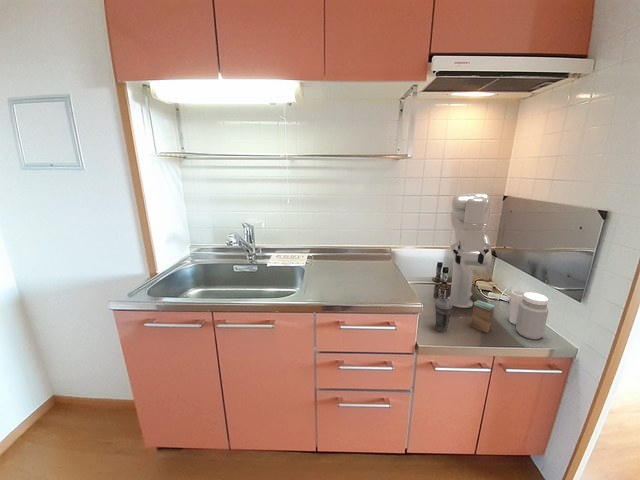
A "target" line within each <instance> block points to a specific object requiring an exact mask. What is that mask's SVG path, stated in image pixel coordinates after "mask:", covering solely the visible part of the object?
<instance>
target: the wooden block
mask: <svg viewBox="0 0 640 480" xmlns="http://www.w3.org/2000/svg"><path fill="white" fill-rule="evenodd" d="M494 314H495V305H494V304H492V303H488V302H485V301H482V300H479V299H477V300H476V301H473V307H472V314H471V323H470V327H472V328H475V329H477V330H478V331H481V332H484V333H487V334H488V333H489V332H490V331H491V330H492V326H493V319H494Z"/></svg>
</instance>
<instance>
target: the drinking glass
mask: <svg viewBox="0 0 640 480" xmlns="http://www.w3.org/2000/svg"><path fill="white" fill-rule="evenodd" d="M526 292H527V291H524V290H519V289H513V290H512V291H511V294H510V301H509V318H508V321H509V323H512V324H513V325H516V324H517V318H518V312H519V306H520V302H522V301H523V295H524V293H526Z"/></svg>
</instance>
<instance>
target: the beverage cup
mask: <svg viewBox="0 0 640 480" xmlns="http://www.w3.org/2000/svg"><path fill="white" fill-rule="evenodd" d="M446 292H447V289H444V294H443V296H441V297H439V298H437V299H436V301H435V303H434V308H435V328H436V330H437V331H438V332H440V333H441V332H442V333H444V332H447V331H448V326H449V321H450V317H451V313H452V310H453V307H454V306H452V303H451V301H450V300H449V299H448V297H446V295H447V293H446Z"/></svg>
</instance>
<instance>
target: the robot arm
mask: <svg viewBox="0 0 640 480" xmlns="http://www.w3.org/2000/svg"><path fill="white" fill-rule="evenodd" d="M490 203H491V199H490V196H489V195H488V193H483V192H482V193H480V192H479V193H476V192H475V193H473V192H472V193H471V192H469V193H464V194H455V195H454V196H453V198H452V200H451V207H452V210H451V213H450V222H451V225H452V227H453V230H454V234H455V235H454V237H455V239H454V240H455V242H454V243H453V244H451V245H450V249H451V251H452V274H451V275H452V276H451V284H450V285H451V287H450V295H449V296H448V297H447V298H448V299H449V300H450V301H451V303H452V307H455V308H459V309H460V308H462V309H469V308H473V307H472V306H474V301H472V299H471V296H473V293H472V288H473V280H474V278H473V277H474V272H473V271H472V269H471V267H469V266H472V267H473V266H475V267H488V266H490V265H491V264H492V259H493V257H492V256H493V255H492V245H491V241H490V237H489V236H488V234H485V230H484V228H485V227H487V223H485V219H486V217H487V215H488V212H489V208H490V205H491V204H490Z"/></svg>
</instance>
